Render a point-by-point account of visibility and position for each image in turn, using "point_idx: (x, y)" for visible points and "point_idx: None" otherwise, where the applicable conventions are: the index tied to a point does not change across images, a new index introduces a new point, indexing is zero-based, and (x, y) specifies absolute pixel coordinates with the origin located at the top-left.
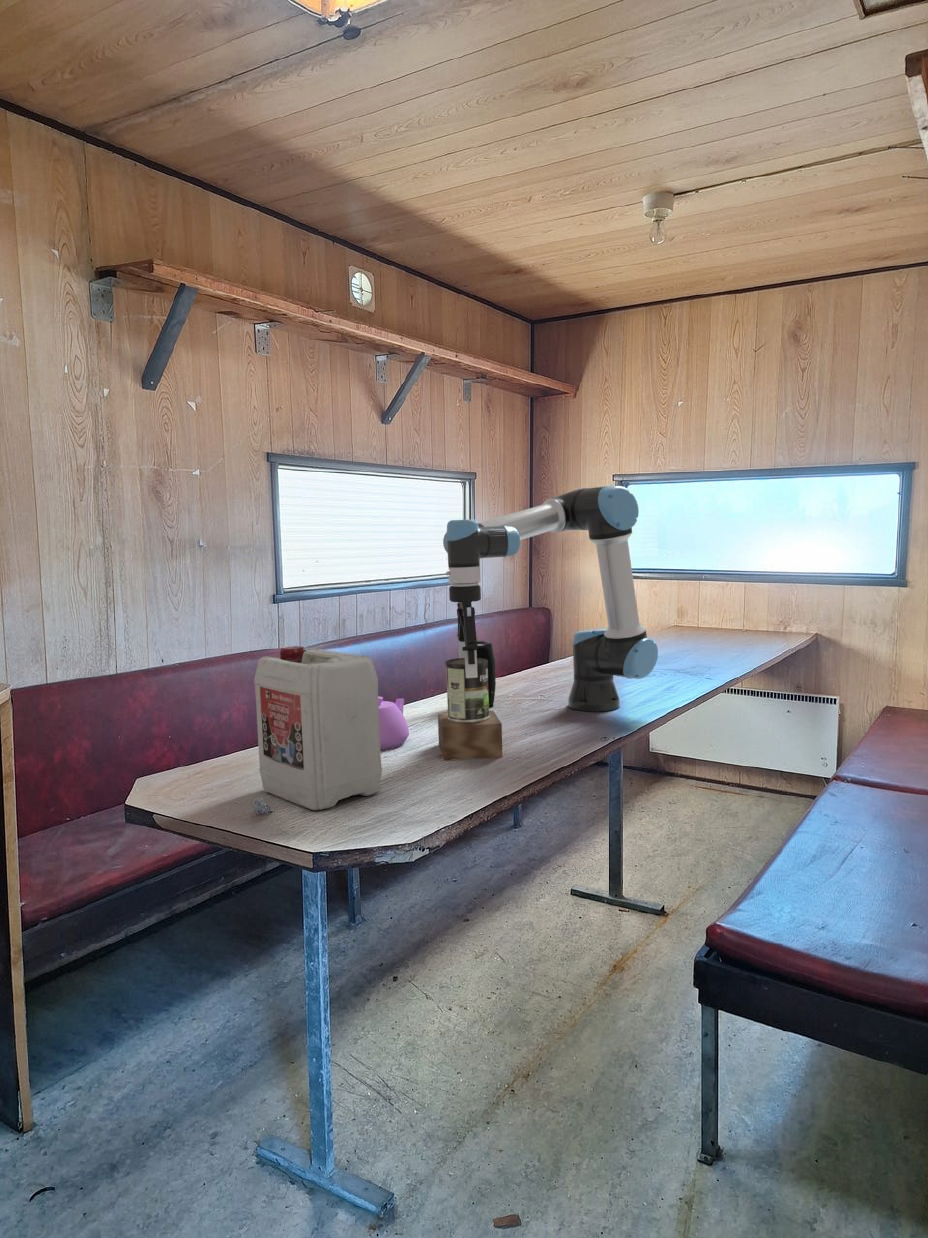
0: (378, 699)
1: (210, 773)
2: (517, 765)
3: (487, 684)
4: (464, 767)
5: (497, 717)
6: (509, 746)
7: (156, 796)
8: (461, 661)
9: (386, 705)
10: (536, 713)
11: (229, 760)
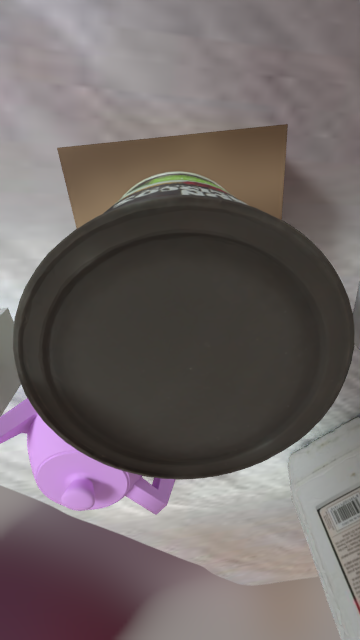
0: (93, 496)
1: (240, 553)
2: (349, 90)
3: (216, 189)
4: (318, 242)
5: (183, 135)
6: (145, 98)
7: (313, 569)
8: (173, 403)
9: (90, 466)
10: None
11: (186, 550)
